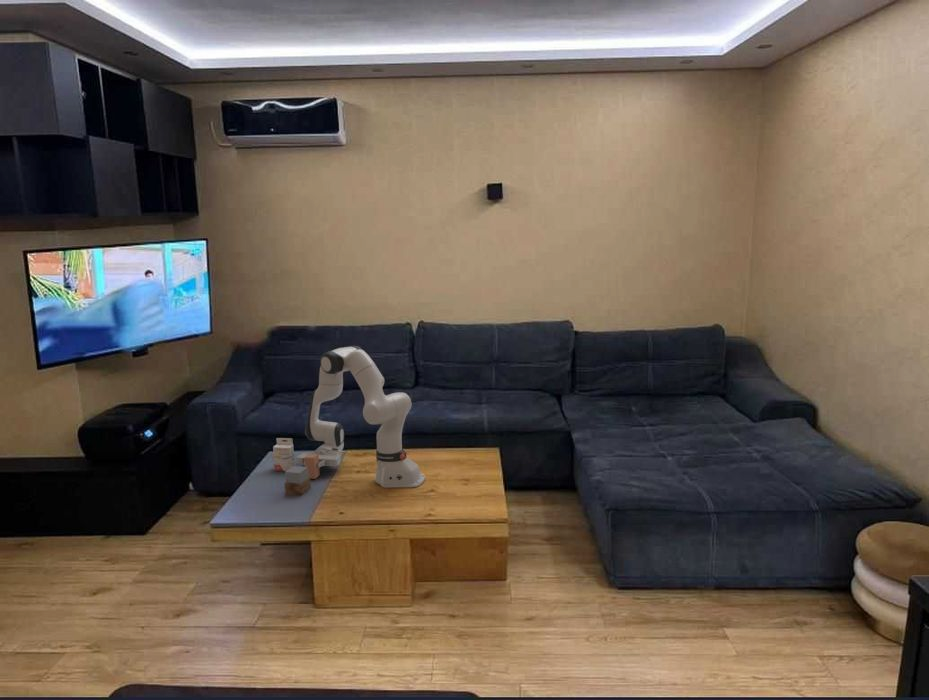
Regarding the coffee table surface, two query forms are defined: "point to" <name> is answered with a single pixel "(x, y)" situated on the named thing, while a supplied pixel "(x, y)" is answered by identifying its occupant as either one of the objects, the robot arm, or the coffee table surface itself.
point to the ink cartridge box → (283, 454)
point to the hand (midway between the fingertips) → (311, 465)
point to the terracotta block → (312, 465)
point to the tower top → (296, 474)
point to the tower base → (297, 487)
